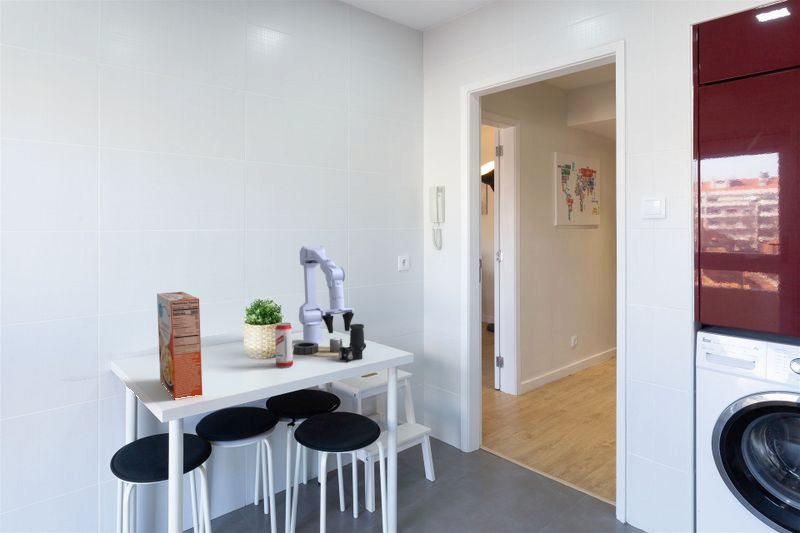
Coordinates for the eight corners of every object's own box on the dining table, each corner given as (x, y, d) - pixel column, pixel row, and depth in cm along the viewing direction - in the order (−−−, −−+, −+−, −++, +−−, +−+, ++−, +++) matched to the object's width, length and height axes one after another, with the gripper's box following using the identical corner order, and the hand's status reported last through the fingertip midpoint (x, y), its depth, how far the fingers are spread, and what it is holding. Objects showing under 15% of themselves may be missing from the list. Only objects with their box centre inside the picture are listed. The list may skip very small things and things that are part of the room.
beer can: (287, 363, 192) (286, 321, 191) (296, 366, 188) (295, 323, 187) (272, 366, 188) (271, 323, 187) (281, 369, 184) (280, 326, 183)
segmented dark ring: (298, 348, 213) (298, 341, 213) (321, 349, 212) (321, 342, 211) (289, 354, 203) (289, 347, 203) (313, 355, 202) (313, 348, 202)
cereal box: (160, 382, 169) (156, 293, 167) (185, 378, 173) (182, 291, 171) (174, 400, 150) (170, 301, 148) (202, 395, 155) (199, 298, 153)
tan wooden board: (301, 347, 219) (301, 345, 219) (354, 348, 215) (354, 347, 215) (285, 357, 202) (285, 355, 202) (343, 359, 198) (343, 357, 198)
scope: (337, 325, 195) (359, 322, 201) (338, 360, 196) (359, 356, 202) (349, 328, 189) (371, 325, 195) (349, 364, 190) (371, 360, 196)
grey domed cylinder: (332, 349, 211) (331, 337, 211) (343, 350, 210) (343, 337, 210) (328, 352, 206) (328, 340, 206) (340, 352, 206) (339, 340, 205)
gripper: (326, 298, 193) (328, 334, 192) (357, 296, 202) (359, 330, 201) (316, 299, 198) (319, 334, 198) (347, 297, 207) (350, 330, 207)
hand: (339, 332), depth 200 cm, fingers open, 7 cm apart
